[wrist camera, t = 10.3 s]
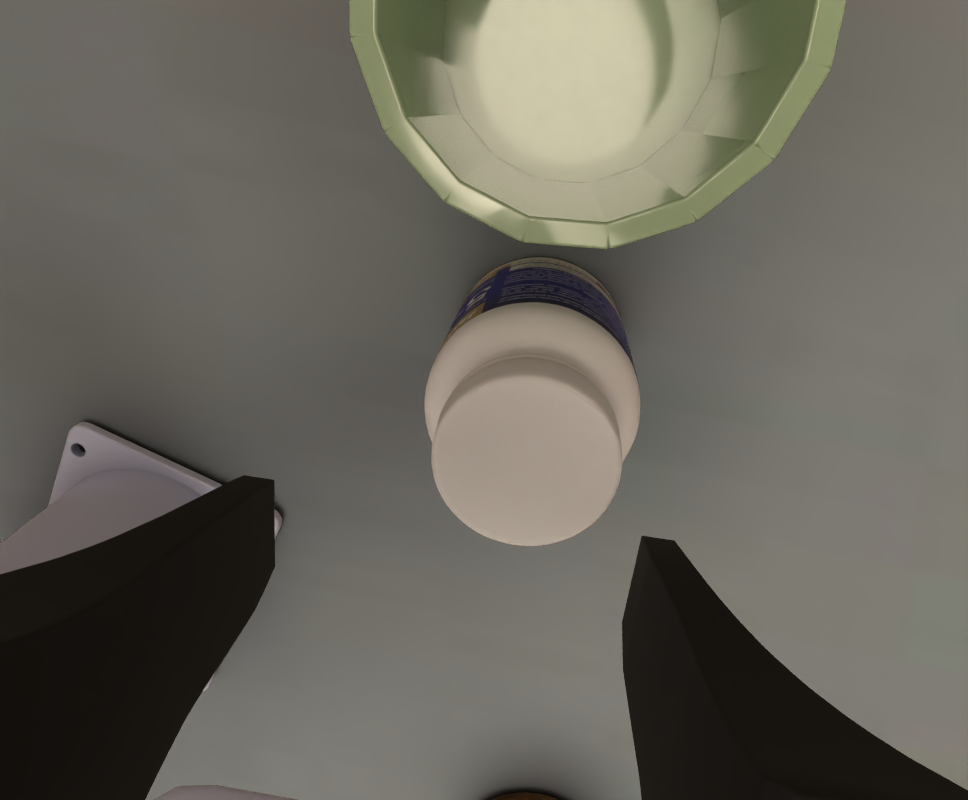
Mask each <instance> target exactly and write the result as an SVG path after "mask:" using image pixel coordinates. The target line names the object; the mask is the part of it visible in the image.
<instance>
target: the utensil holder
mask: <svg viewBox="0 0 968 800" xmlns="http://www.w3.org/2000/svg"><path fill="white" fill-rule="evenodd" d="M492 800H559V799H557V798H554V797H551V796H547V795H543V794H538V793H526V792H525V793H511V794H506V795H502V796H499V797H496V798H494V799H492Z"/></svg>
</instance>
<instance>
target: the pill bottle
mask: <svg viewBox="0 0 968 800" xmlns="http://www.w3.org/2000/svg"><path fill="white" fill-rule="evenodd" d="M424 407H425V420H426V425H427V430H428V433H429V436H430V439H431V441H432V451H431V461H432V470H433V475H434V480H435V483H436V486H437V488H438V490H439V492H440V494H441V496H442V498H443V499H444V501H445V503H446V505H447V506H448V507H449V509H450V510H451V511H452V512H453V514H455V515H456V516H457V517H458V518H459V519H460V520H461V521H462V522H463V523H464V524H466V525H467V526H468V527H470V528H471V529H473V530H474V531H476V532H478V533H479V534H482V535H484V536H486V537H488V538H491V539H494V540H496V541H500V542H503V543H507V544H513V545H522V546H536V545H546V544H551V543H555V542H559V541H562V540H565V539H568V538H570V537H572V536H574V535H577V534H578V533H580V532H581V531H583V530H584V529H586V528H587V527H589V526H590V525H591V524H593V523H594V522H595V521H596V520H597V519H598V518H599V517H600V516H601V515H602V514H603V513H604V511H605V510H606V509H607V507H608V506H609V504H610V502H611V501H612V499H613V497H614V495H615V493H616V491H617V488H618V485H619V482H620V477H621V472H622V462H623V461H624V459H625V458H626V456H627V454H628V452H629V451H630V449H631V446H632V444H633V442H634V440H635V437H636V433H637V430H638V425H639V419H640V409H641V406H640V391H639V385H638V379H637V375H636V371H635V368H634V364H633V360H632V357H631V353H630V349H629V346H628V343H627V339H626V335H625V332H624V328H623V324H622V321H621V317H620V314H619V312H618V309H617V307H616V305H615V303H614V301H613V299H612V298H611V296H610V294H609V293H608V291H607V290H606V289H605V288H604V286H603V285H602V284H601V283H600V282H599V281H598V280H597V279H596V278H594V277H593V276H592V275H591V274H589V273H588V272H586V271H585V270H583V269H582V268H580V267H578V266H576V265H573V264H571V263H568V262H566V261H563V260H559V259H554V258H546V257H531V258H524V259H519V260H515V261H512V262H509V263H506V264H504V265H502V266H500V267H498V268H496V269H494V270H493V271H491V272H490V273H488V274H487V275H486V276H484V277H483V278H482V279H481V280H480V281H479V282H478V283H477V284H476V285H475V286H474V287H473V289H472V290H471V291H470V293H469V294H468V296H467V298H466V299H465V301H464V302H463V304H462V307H461V308H460V310H459V313H458V314H457V316H456V318H455V320H454V322H453V324H452V326H451V328H450V330H449V332H448V334H447V336H446V338H445V341H444V343H443V345H442V347H441V349H440V351H439V353H438V355H437V357H436V359H435V361H434V364H433V366H432V369H431V371H430V375H429V378H428V382H427V386H426V391H425V402H424Z"/></svg>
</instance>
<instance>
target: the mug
mask: <svg viewBox="0 0 968 800" xmlns="http://www.w3.org/2000/svg"><path fill="white" fill-rule="evenodd" d="M846 2H847V0H349V34H350V37H352V38H351V43H352V46H353V49H354V52H355V54H356V57H357V60H358V63H359V65H360V68H361V71H362V74H363V77H364V79H365V82H366V85H367V88H368V90H369V93H370V96H371V99H372V101H373V104H374V107H375V110H376V112H377V115H378V118H379V121H380V123H381V126H382V129H383V130H384V131H385V134H386V136H387V137H388V138H389V139H390V140H391V142H392V143H393V144H394V145H395V146H396V147H397V149H398V150H399V151H400V152H401V153H402V154H403V156H404V157H405V158H406V159H407V160H408V161H409V163H410V164H411V165H412V166H413V167H414V168H415V170H416V171H417V172H418V173H419V174H420V175H421V177H422V178H423V179H424V180H425V181H426V182H427V184H428V185H429V186H430V187H431V188H432V189H433V191H434V192H435V193H436V194H437V195H438V196H439V198H440V199H441V200H442V201H445V203H446V204H448V205H450V206H452V207H454V208H455V209H457V210H459V211H461V212H463V213H465V214H467V215H469V216H471V217H473V218H475V219H477V220H479V221H481V222H482V223H484V224H486V225H488V226H490V227H492V228H494V229H496V230H498V231H500V232H502V233H504V234H506V235H508V236H510V237H511V238H513V239H515V240H517V241H522V242H524V243H531V244H543V245H556V246H568V247H580V248H592V249H608V248H609V249H613V248H616V247H619V246H622V245H625V244H629V243H632V242H635V241H638V240H641V239H644V238H648V237H651V236H654V235H657V234H660V233H663V232H667V231H670V230H673V229H676V228H679V227H682V226H686V225H689V224H692V223H694V222H695V220H696V221H697V220H699V219H701V218H702V217H703V216H705V215H706V214H707V213H708V212H710V211H711V210H712V209H713V208H715V207H716V206H717V205H718V204H720V203H721V202H722V201H724V200H725V199H726V198H727V197H729V196H730V195H731V194H732V193H734V192H735V191H736V190H737V189H739V188H740V187H741V186H742V185H744V184H745V183H746V182H748V181H749V180H750V179H751V178H753V177H754V176H755V175H756V174H758V173H759V172H760V171H761V170H763V169H764V168H765V167H767V166H768V165H769V164H770V163H771V162H772V161H773V160H772V159H775V158H776V157H777V155H778V154H779V152H780V150H781V149H782V147H783V146H784V144H785V142H786V141H787V139H788V138H789V136H790V134H791V133H792V131H793V130H794V128H795V126H796V125H797V123H798V122H799V120H800V118H801V117H802V115H803V114H804V112H805V110H806V109H807V107H808V106H809V104H810V102H811V101H812V99H813V98H814V96H815V94H816V93H817V91H818V90H819V88H820V86H821V85H822V83H823V82H824V80H825V78H826V77H827V75H828V74H829V72H830V68H831V66H832V64H833V60H834V55H835V51H836V46H837V42H838V37H839V33H840V29H841V24H842V20H843V15H844V11H845V6H846Z"/></svg>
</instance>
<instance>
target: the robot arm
mask: <svg viewBox="0 0 968 800" xmlns="http://www.w3.org/2000/svg"><path fill="white" fill-rule="evenodd" d="M78 444H80V445H82V446H83V447H84V449H85V452H84V451H82V450H81V449H80V448H79V446H78ZM281 524H282V518H281V515H280V514H279V513H278V511H276V510H275V509H274V480H271V479H265V478H258V477H251V476H245V475H244V476H242V477H239V478H237V479H234V480H232V481H230V482H228V483H226V484H224V485H222V484H220V483H217V482H215V481H213V480H211V479H209V478H207V477H205V476H202V475H200V474H198V473H196V472H194V471H192V470H190V469H187V468H185V467H183V466H181V465H179V464H177V463H175V462H172V461H170V460H168V459H166V458H164V457H162V456H160V455H157V454H155V453H153V452H151V451H149V450H147V449H145V448H142V447H140V446H138V445H136V444H134V443H132V442H130V441H127V440H125V439H123V438H121V437H119V436H117V435H115V434H112V433H110V432H108V431H106V430H104V429H102V428H100V427H97V426H95V425H93V424H91V423H87V422H80V423H79V424H77V425H75V426H74V427H72V428H71V429H70V431H69V433H68V437H67V441H66V444H65V448H64V451H63V455H62V458H61V462H60V465H59V469H58V472H57V476H56V480H55V483H54V487H53V490H52V494H51V497H50V501H49V504H48V507H47V508H46V509H44V510H43V511H42V512H40V513H39V514H38V515H37V516H35V517H34V518H33V519H31V520H30V521H29V522H28V523H26V524H25V525H24V526H22V527H21V528H20V529H18V530H17V531H16V532H15V533H13V534H12V535H11V536H9V537H8V538H7V539H6V540H4V541H3V542H2V543H0V800H145V799H146V797H147V795H148V793H149V790H150V788H151V786H152V784H153V782H154V780H155V778H156V776H157V774H158V772H159V770H160V768H161V766H162V764H163V762H164V760H165V758H166V756H167V754H168V752H169V750H170V748H171V746H172V744H173V742H174V740H175V738H176V736H177V734H178V732H179V730H180V728H181V726H182V724H183V723H184V721H185V719H186V717H187V716H188V714H189V712H190V711H191V709H192V707H193V706H194V704H195V702H196V701H197V699H198V697H199V696H200V694H201V693H202V692H203V691H205V690H206V689H207V688H208V687H209V685H210V684H211V682H212V680H213V677H214V675H215V673H216V671H217V668H218V667H219V665H220V664H221V662H222V661H223V659H224V657H225V656H226V654H227V653H228V651H229V650H230V648H231V647H232V645H233V644H234V642H235V641H236V639H237V637H238V636H239V634H240V633H241V631H242V630H243V628H244V626H245V625H246V623H247V622H248V620H249V619H250V617H251V615H252V614H253V612H254V610H255V609H256V607H257V605H258V602H259V600H260V598H261V596H262V594H263V592H264V590H265V588H266V585H267V583H268V581H269V579H270V576H271V574H272V572H273V570H274V567H275V538H276V536H277V534H278V531H279V529H280V527H281ZM622 641H623V672H624V679H625V686H626V693H627V699H628V706H629V713H630V719H631V726H632V732H633V739H634V745H635V752H636V758H637V765H638V771H639V778H640V787H641V797H642V800H968V790H966V789H964V788H962V787H960V786H959V785H957V784H955V783H953V782H952V781H950V780H948V779H946V778H944V777H943V776H941V775H939V774H937V773H935V772H934V771H932V770H930V769H928V768H926V767H925V766H923V765H921V764H919V763H918V762H916V761H914V760H912V759H910V758H909V757H907V756H906V755H904V754H902V753H901V752H899V751H898V750H896V749H895V748H893V747H891V746H890V745H888V744H887V743H885V742H884V741H882V740H881V739H879V738H877V737H876V736H874V735H873V734H871V733H870V732H868V731H867V730H865V729H864V728H862V727H861V726H860V725H858V724H857V723H855V722H854V721H852V720H851V719H850V718H848V717H847V716H845V715H844V714H843V713H841V712H840V711H839V710H837V709H836V708H835V707H834V706H832V705H831V704H830V703H828V702H827V701H826V700H824V699H823V698H822V697H820V696H819V695H818V694H816V693H815V692H814V691H813V690H812V689H810V688H809V687H808V686H807V685H805V684H804V683H803V682H802V681H801V680H799V679H798V678H797V677H796V676H795V675H794V674H793V673H792V672H790V671H789V670H788V669H787V668H786V667H785V666H784V665H783V664H782V663H780V662H779V661H778V660H777V659H776V658H775V657H774V656H773V655H772V654H771V653H770V652H769V651H768V650H767V649H765V648H764V647H763V646H762V645H761V644H760V643H759V642H758V640H757V639H756V638H755V637H754V636H753V635H752V634H751V633H750V632H749V631H748V630H747V629H746V628H745V627H744V626H743V625H742V624H741V623H740V621H739V620H738V619H737V618H736V617H735V616H734V615H733V614H732V612H731V611H730V610H729V609H728V608H727V607H726V606H725V604H724V603H723V602H722V601H721V600H720V598H719V597H718V596H717V595H716V594H715V592H714V591H713V590H712V589H711V587H710V586H709V585H708V584H707V582H706V581H705V580H704V579H703V577H702V576H701V575H700V573H699V572H698V571H697V570H696V568H695V567H694V566H693V564H692V563H691V562H690V560H689V559H688V558H687V557H686V555H685V554H684V553H683V551H682V550H681V549H680V547H679V546H678V545H677V544H676V542H675V541H673V540H666V539H660V538H653V537H647V536H642V537H641V542H640V546H639V551H638V555H637V559H636V564H635V568H634V573H633V577H632V581H631V586H630V590H629V595H628V599H627V603H626V608H625V612H624V617H623V621H622ZM155 800H297V799H291V798H285V797H280V796H274V795H269V794H263V793H257V792H252V791H246V790H241V789H235V788H230V787H224V786H218V785H206V786H180V787H175V788H174V789H172V790H170V791H169V792H167V793H165V794H163V795H162V796H160V797H158V798H157V799H155Z"/></svg>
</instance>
